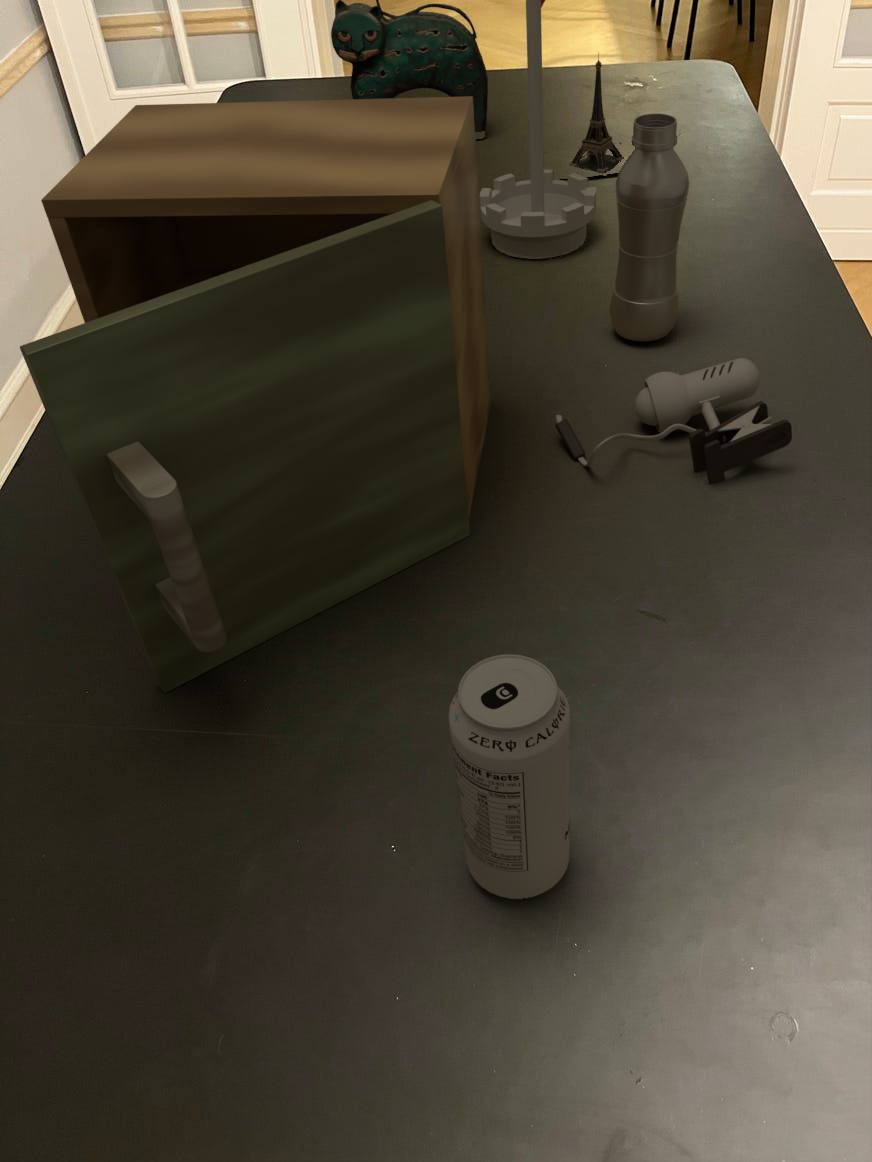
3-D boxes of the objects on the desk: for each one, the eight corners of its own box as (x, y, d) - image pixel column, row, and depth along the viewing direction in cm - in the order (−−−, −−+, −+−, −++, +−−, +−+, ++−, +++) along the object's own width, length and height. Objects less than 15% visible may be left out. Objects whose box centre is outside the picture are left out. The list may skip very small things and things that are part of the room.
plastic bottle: (622, 313, 107) (630, 104, 92) (685, 324, 104) (704, 111, 90) (599, 343, 103) (604, 129, 88) (664, 355, 100) (680, 138, 86)
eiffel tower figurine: (643, 144, 139) (648, 32, 130) (664, 172, 132) (671, 55, 122) (532, 157, 138) (530, 45, 129) (548, 186, 131) (546, 70, 121)
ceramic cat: (346, 153, 143) (322, -15, 129) (350, 136, 148) (327, -28, 134) (491, 143, 142) (482, -26, 128) (490, 127, 147) (482, -39, 133)
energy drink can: (591, 870, 60) (595, 697, 50) (507, 927, 58) (493, 758, 47) (528, 803, 64) (520, 628, 53) (447, 854, 62) (421, 682, 51)
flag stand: (563, 272, 114) (562, -50, 93) (461, 252, 119) (438, -58, 98) (613, 225, 122) (623, -82, 100) (515, 208, 127) (505, -88, 106)
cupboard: (467, 526, 83) (438, 194, 65) (153, 518, 87) (40, 199, 68) (491, 403, 96) (472, 96, 77) (216, 400, 99) (135, 104, 81)
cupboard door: (517, 573, 79) (502, 235, 60) (202, 745, 68) (68, 401, 50) (461, 528, 83) (431, 199, 65) (157, 684, 73) (18, 345, 54)
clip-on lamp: (584, 527, 87) (797, 464, 85) (569, 473, 82) (794, 404, 80) (558, 438, 94) (753, 378, 92) (543, 383, 90) (748, 319, 87)
